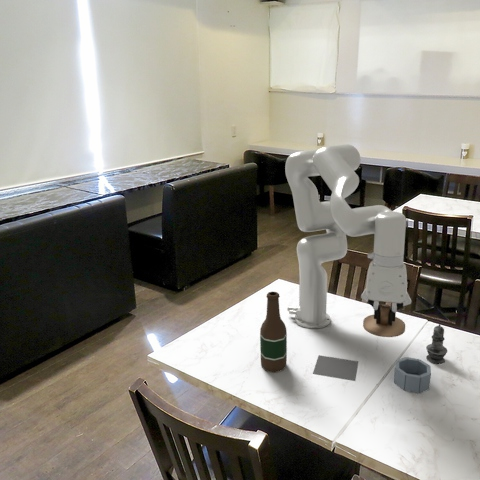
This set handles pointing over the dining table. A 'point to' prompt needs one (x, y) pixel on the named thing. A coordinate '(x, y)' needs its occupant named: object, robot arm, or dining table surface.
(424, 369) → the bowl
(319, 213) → the robot arm
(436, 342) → the ornate incense burner
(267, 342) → the beer bottle
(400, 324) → the lid
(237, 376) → the dining table surface
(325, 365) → the mat
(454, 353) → the dining table surface
